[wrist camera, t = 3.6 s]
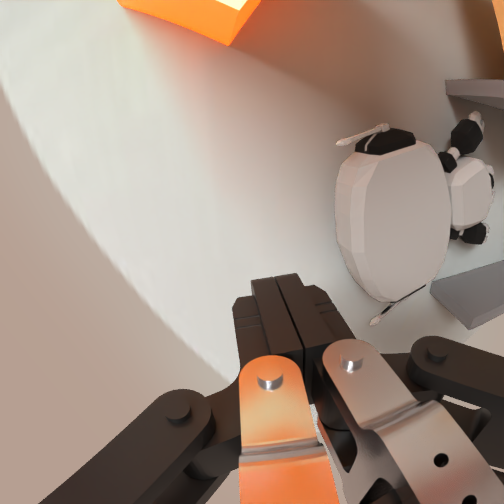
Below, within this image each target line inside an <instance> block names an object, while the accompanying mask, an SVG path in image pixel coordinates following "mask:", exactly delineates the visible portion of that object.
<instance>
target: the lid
mask: <svg viewBox="0 0 504 504" xmlns="http://www.w3.org/2000/svg"><path fill="white" fill-rule="evenodd" d="M492 3H493V7H494V10H495V14H496V18H497V22H498V26H499V31H500V35H501V40H502V45H503V51H504V0H492Z"/></svg>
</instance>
